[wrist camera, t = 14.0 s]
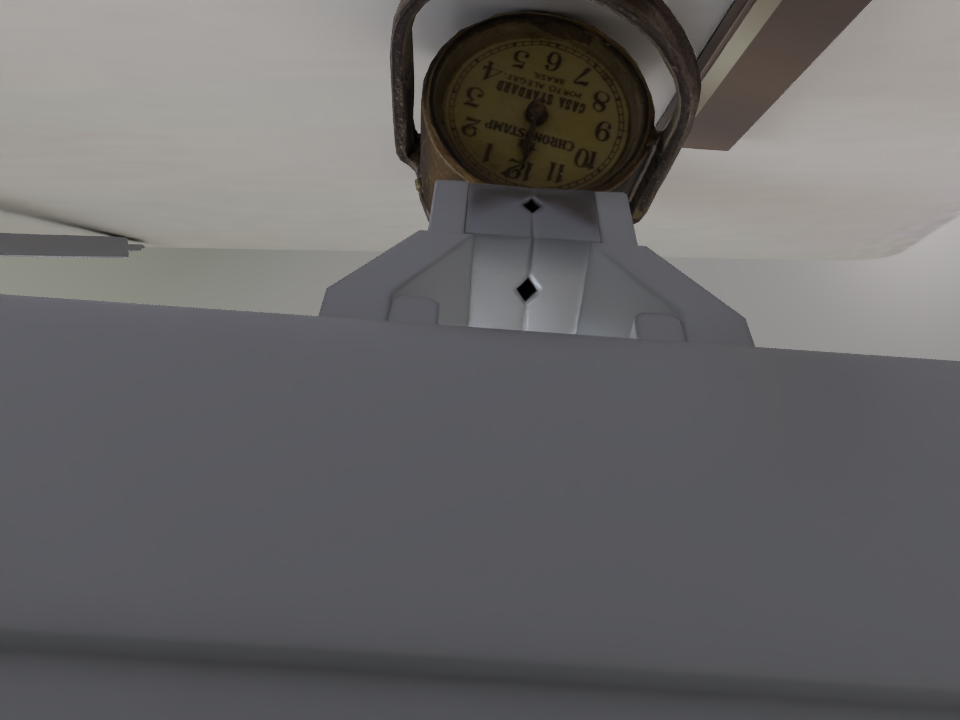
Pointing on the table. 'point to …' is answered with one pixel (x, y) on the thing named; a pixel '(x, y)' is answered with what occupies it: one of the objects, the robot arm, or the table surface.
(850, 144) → the table surface
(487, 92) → the antique alarm clock
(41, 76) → the table surface
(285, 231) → the table surface
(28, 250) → the caliper
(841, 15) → the ruler
